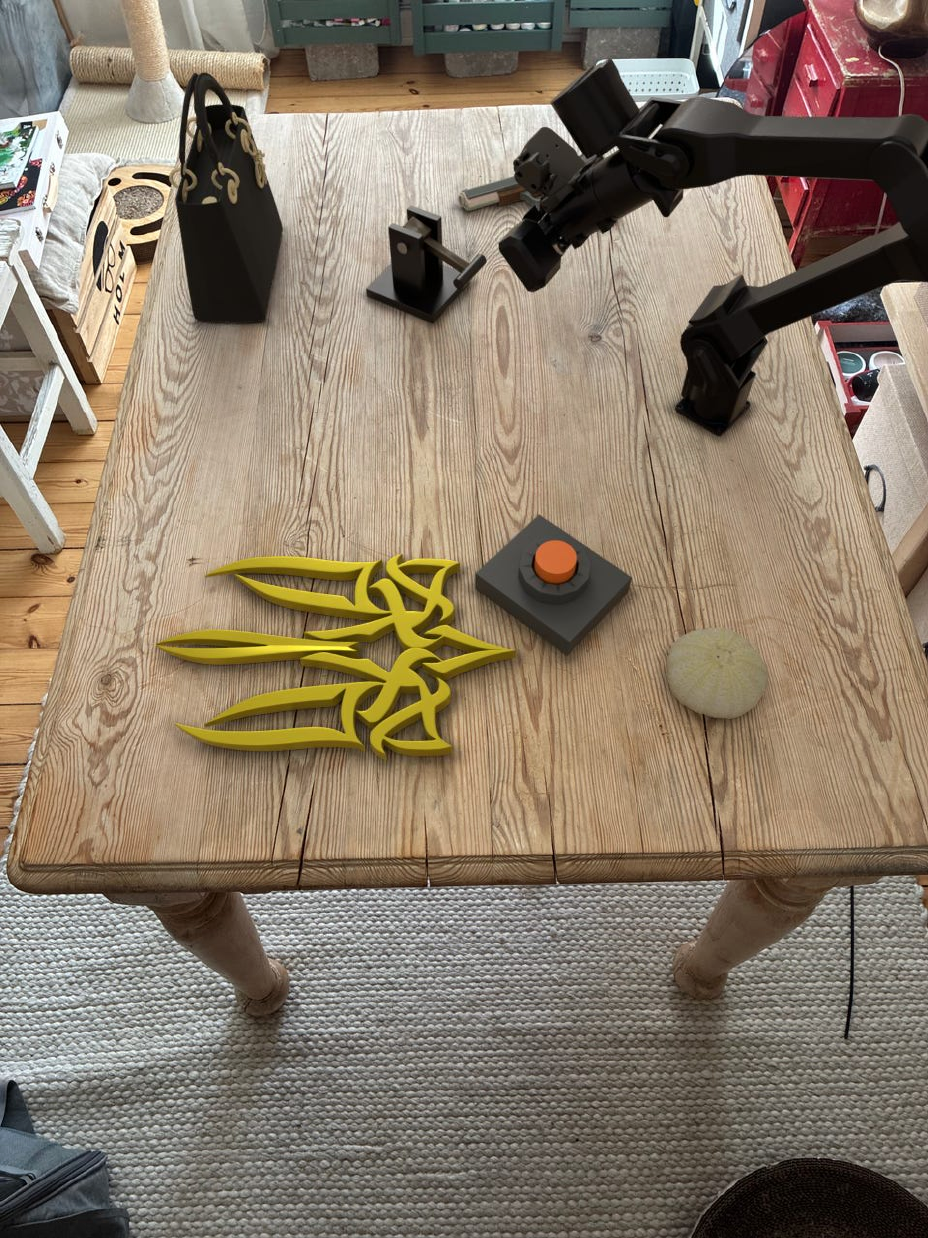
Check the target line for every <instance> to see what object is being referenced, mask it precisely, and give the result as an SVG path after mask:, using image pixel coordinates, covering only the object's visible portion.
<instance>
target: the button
mask: <svg viewBox="0 0 928 1238" xmlns="http://www.w3.org/2000/svg"><path fill="white" fill-rule="evenodd" d="M576 562H577V555H576V552H575V550H574V549H573V548H572V547H571V546H570V545H569V544H567V543H565V542H563V541H558V540H553V541H548V542H545V543H544V544H542V545H541V546H540V547H539V548H538V549H537V551H536V556H535V571H536V573H537V575H538V576H539V577H540V578H541V579H542V580H544V581H546V582H548V583H552V584H560V583H563V582H566V581H568V580H569V579H570V578H571V577H572V576H573V575H574V572H575V568H576Z"/></svg>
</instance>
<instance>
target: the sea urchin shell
mask: <svg viewBox="0 0 928 1238" xmlns="http://www.w3.org/2000/svg"><path fill="white" fill-rule="evenodd" d="M665 665H666V672H667V676H666V678H667V683H668V684H669V687H670V690H671V692H672V694H673V697H674V698H675V699H676V700H677V701H678V702H679V703H680V704H681V705H683V706H685V707H686V708H688V709H690V710H691V711H694V712H695V713H697V714H699V715H705V716H708V717H710V718H711V717H712V718H713V719H715V718H717V719H729V720H731V719H735V718H740V717H742V716H743V715H745V714H746V713H748V712H750V711H751V710H752V709H754V708H755V707H756V705H757V704H758V703H759V701H760V699H761V698H762V696H764V693H765V691H766V686H767V683H768V679H769V673H768V667H767V664H766V662H765V661H764V660H763V658H762V656H761V654H760V652H759V651H758V650H757V649H756V648H755V647H754V646H753V644H752V643H751V642H750V641H748V639H747V638H745V637H743V636H742V635H740V634H739V633H737V632H736V631H735V630H733V629H729V628H727V627H712V626H711V627H710V626H709V627H707V628H702V629H696V630H691V631H689V632H686V633H685V634H683V635H681V636H679V637H677V638H676V640H675V641H674V642H673V643H672V644H671V646H670V649H669V651H668V656H667V659H666V663H665Z"/></svg>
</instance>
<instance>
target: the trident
mask: <svg viewBox="0 0 928 1238" xmlns="http://www.w3.org/2000/svg"><path fill="white" fill-rule="evenodd" d="M383 563H384V562H383V559H378V560H376V561H375V560H374V561H368V562H367V561H365V562H361V561H360V562H358V561H355V562H354V561H337V560H329V559H322V558H316V557H315V558H313V557H306V556H293V555H291V556H290V555H289V556H288V555H276V556H274V555H273V556H258V557H250V558H249V557H248V558H244V559H240V560H237V561H233V562H229V563H228V564H225V565H223V566H220V567H218V568H216V569H214V570H211V571H210V572H208V573H206V574H205V575H204V578H205V579H206V578H211V577H219V576H227V575H233V576H234V578H235V579H236V580H238V582H240V583H241V584H243V585H244V586H246V588H248V589H249V590H250V591H252V592H253V593H254V594H256V595H257V596H259V597H261V598H262V599H264V600H265V601H267V602H269V603H272V604H274V605H277V606H280V607H284V608H287V609H292V610H296V611H300V612H306V613H311V614H317V615H324V616H330V617H336V618H337V617H338V618H345V619H353V620H360V621H367V622H366V623H362V624H358V625H352V626H348V627H341V628H335V629H329V630H314V631H313V630H312V631H303V636H304V638H299V637H288V636H281V635H273V634H267V633H259V632H251V631H243V630H232V629H218V628H217V629H214V628H213V629H200V630H195V631H189V632H185V633H181V634H178V635H174V636H170V637H167V638H166V639H163V640H161V641H159V642H157V643H155V646H156V647H157V648H158V649H159V650H161V651H162V652H164V653H165V654H168V655H171V656H174V657H176V658H178V659H182V660H185V661H189V662H192V663H196V664H203V665H215V666H216V665H218V666H219V665H221V666H222V665H224V666H225V665H227V666H228V665H243V664H259V663H269V662H282V661H294V660H299V662H300V665H301V667H305V668H315V669H322V670H330V671H334V672H339V673H343V674H347V675H351V676H354V677H358V678H361V679H364V680H366V681H357V682H347V683H346V682H345V683H336V684H333V683H332V684H323V685H322V684H321V685H313V686H312V685H311V686H304V687H303V686H302V687H296V688H288V689H281V690H275V691H270V692H265V693H262V694H258V695H257V694H256V695H255V696H251V697H248V698H246V699H244V700H242V701H240V702H238V703H235V704H234V705H232V706H231V707H229V708H227V709H225V710H224V711H222V712H221V713H219V714H218V715H216V716H215V717H213V718H211V719H210V720H208V721H207V722H205V723H204V724H203V726H204V727H205V728H206V729H204V728H199V727H193V726H188V725H185V724H181V723H177V722H174V721H173V722H172V723H173V724H174V726H176V727H177V728H178V729H179V730H180V731H182V732H183V733H185V734H186V735H188V736H190V737H192V738H194V739H195V740H197V741H199V742H202V743H203V744H206V745H210V746H213V747H216V748H222V749H227V750H228V749H229V750H236V751H237V750H238V751H245V752H279V751H280V752H281V751H292V750H303V749H304V750H305V749H318V748H342V749H343V748H344V749H355V750H359V751H362V752H364V753H366V747H365V745H364V744H363V743H362V742H361V741H360V740H359V738H358V735H357V732H356V718H357V719H358V720H359V721H360V722H362V724H364V725H365V726H366V727H367V728H368V729H369V730H371V731H370V734H369V743H370V748H371V750H372V752H373V753H374V754H375V755H376V756H377V757H378V758H380V759H381V760H383V761H385V762H387V761H388V757H387V753H386V752H385V751H384V748H385V747H386V748H388V750H390V751H392V752H394V753H396V754H399V755H401V756H402V755H403V756H408V757H441V756H446V755H449V754H453V746H452V745H451V744H449V743H448V742H446V741H445V740H443V739H442V738H441V737H440V736H439V733H438V730H437V714H438V713H440V711H443V710H444V709H445V708H446V707H447V706H449V705H450V703H451V701H452V690H451V687H450V686H449V685H448V683H447V682H446V681H448V680H450V679H451V678H454V677H457V676H459V675H462V674H464V673H466V672H469V671H472V670H474V669H478V668H479V667H483V666H485V665H488V664H492V663H497V662H500V661H506V660H512V659H515V658H516V655H517V650H515V649H512V648H506V647H503V646H499V645H495V644H492V643H489V642H486V641H484V640H480V639H479V638H476V637H474V636H471V635H469V634H467V633H464V632H462V631H461V630H458V629H456V628H453V627H452V626H450V624H451V623H452V622H453V621H454V620H455V617H456V607H455V604H454V603H453V602H452V600H450V599H449V598H447V597H445V596H444V595H443V594H444V590H445V589H444V587H445V585H446V582H447V580H448V579H449V578H450V577H451V576H453V575H456V574H457V573H460V572H461V562H459V561H455V560H451V559H444V558H415V559H410V560H407V561H405V562H404V556H403V553H400V554H397V555H395V556H392V557H391V558H390V559H388V561H387V562H386V564H385V575H386V578H381V579H379V580H377V582H375V583H373V584H372V582H373V579H374V578H375V576H376V574H377V573H379V572H380V571H381V570H383V569H384V564H383ZM239 574H270V575H286V576H295V577H303V578H309V579H310V578H311V579H319V580H324V581H325V580H326V581H337V582H341V581H342V582H344V581H345V582H346V581H353V580H356V582H355V584H354V585H355V586H354V604H353V603H352V602H351V601H350V600H349V599H348V598H347V597H346V596H344V595H337V594H328V593H327V594H326V593H320V592H314V591H313V592H312V591H306V590H300V589H295V588H288V587H283V586H278V585H273V584H268V583H265V582H262V581H261V582H260V581H257V580H254V579H251V578H248V577H245V576H243V575H239ZM411 574H430V575H434V576H433V578H432V580H431V583H430V586H429V588H426V586H425V587H424V586H423V585H421V584H419V583H418V582H416V581H414V580H413V579H411V578H410V577H408V576H407V575H411ZM371 584H372V585H371ZM401 593H402V594H403V595H405V596H407V597H408V598H410V599H412V600H413V601H415V602H417V603H419V604H421V605H423V606H425V607H424V610H423V611H418V610H417V611H415V610H407V608H406V607H405V604H404V601H403V598H402V595H401ZM369 596H370V597H379V598H381V600H382V601H383V603H384V604H385V606H386V608H387V610H383V609H380V608H379V607H377V606H376V605H375V604H374V603H373V602H372V601H371V600H370V598H369ZM437 614H439V615H440V616H441V618H440V619H439V620H438V626H436V627H434V628H432V629H430V630H428V631H425V632H424V633H423V637H422V636H420V635H418V634H419V633H421V632H422V631H423V630H424V629H426V628H427V627H428V626H429V625H430V624H431V623H432V621H433V619H435V616H437ZM392 632H395V635H396V639H397V641H398V644H399V645H400V648H401V649H402V650H403V652H401V653H400V654H399V656H398V657H397V658H396V659H395V662H394V663H393V665H392V667H391V669H390V671H389V672H388V671H387V670H385V669H383V668H382V667H381V666H379V665H377V664H376V663H375V662H374V661H372V660H371V659H369V658H360V655H359V651H360V650H361V647H360V646H361V645H360V643H369V644H372V643H375V642H376V641H378V640H379V639H381V638H383V637H384V636H386V635H388V634H391V633H392ZM174 645H176V646H177V645H197V646H198V645H199V646H200V645H202V646H214V647H213V648H208V647H207V648H205V647H204V648H197V647H196V648H195V647H172V646H174ZM444 645H445V646H449V647H451V648H454V649H457V650H459V651H462V652H465V653H466V654H461V655H458V656H455V657H452V658H448V659H445V660H442V659H441V658H439V657H438V656H437V655H435V654H434V653H433V652H435V651H437V650H438V649H439V648H441V647H443V646H444ZM215 646H216V647H215ZM217 646H218V647H217ZM420 667H421V670H422V672H424V673H426V674H427V675H429V676H431V677H432V678H435V685H436V686H437V691H436V692H435V693H433V694H432V693H431V691H430V689H429V687H428V685H427V683H426V681H425V680H424V679H423V678H422V677H421V676H420V675H419V674H418V673H417V672H415V671H416V670H418V669H419V668H420ZM375 694H378V695H377V697H376V699H375V700H374V702H373V703H372V704H371V706H369V708H368V709H365V710H361V711H360V710H359V708H360V706H361V705H362V703H364V702H365V701H366V700H367V699H369V698H370V697H372V696H374V695H375ZM402 694H407V695H408V694H409V695H411V694H419V698H420V700H419V701H416V702H415V703H413V704H411V705H408V706H407V707H404V708H402V709H400V710H399V711H396V712H395V713H393V711H394V710H395V708H396V705H397V703H398V701H399V699H400V697H401V695H402ZM341 701H342V702H341ZM340 702H341V707H340V708H341V709H340V720H341V725H342V728H343V732H342V731H339V730H337V729H334V728H329V727H322V726H307V727H306V726H305V727H293V728H281V729H271V730H270V729H269V730H255V731H254V730H253V731H252V730H251V731H249V730H248V731H244V730H243V731H241V730H240V731H237V730H236V731H235V730H233V731H230V730H216V729H215V730H214V729H207V728H210V727H213V726H217V725H220V724H223V723H227V722H231V721H234V720H238V719H243V718H247V717H253V716H259V715H267V714H272V713H281V712H287V711H296V710H304V709H305V710H307V709H317V708H318V709H319V708H332V707H335V706H336V705H338V704H339V703H340ZM392 713H393V714H392ZM420 720H421V721H422V725H423V730H424V733H425V736H426V738H427V740H398V739H393V738H392V737H394V735H396V734H397V733H399V732H401V731H402V730H403V729H405V728H407V727H409V726H410V725H413V724H415V723H416V722H418V721H420Z"/></svg>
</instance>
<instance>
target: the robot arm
mask: <svg viewBox="0 0 928 1238" xmlns="http://www.w3.org/2000/svg"><path fill="white" fill-rule="evenodd" d="M549 104H550V106H551V107H552V109H553V110H554V112H555V113H556V115H557V117H558V118H559V120H560V121H561V123H562V125H563V126H564V128H565V129H566V131H567V132H568V134H569V135H570V137H571V138H572V140H573V141H574V143H575V145H576V146H577V148H578V150H579V151H580V153H581V154H579V155H578V152H577V151H576V150H575V148H574V147H573V146H572V145H570V144H569V143H568V142H567V141H566V140H565V139H564V138H563V137H561V136H560V135H559V134H558V133H557V132H556V131H554V130H553V129H552V128H550V127H547V126H542V127H540V128H539V129H538V130H537V131H536V132H535V133H534V134H533V135H532V136H531V137H530V138H529V139H528V140H527V142H525V144H524V146H523V148H522V150H521V151H520V154H519V155H518V156H517V157H516V158H515V159H514V160H513V161H512V165H513V166H512V167H513V172H514V173H513V176H514V178H515V181H516V182H517V183H518V184H520V185H521V186H522V187H523V188H524V189H525V190H527V191H528V192H529V193H530V194H536V193H537V192H539V193H541V194H542V195H540V198H539V199H540V207H536V206H535V204H534V205H531V207H530V208H529V209H528V210H527V211H526V212H525V214H523V216H522V218H521V221H519V222H518V223H517V224H516V225H514V226H513V227H511V229H510V230H509V231H508V232H507V233H506V234H505V235H504V236H503V237H502V238H501V239H500V241H499V242H498V243H497V244H498V252H499V253H500V255H501V256H502V258H503V259H504V260H505V262H506V263H507V264H508V266H509V267H510V269H511V270H512V271H513V273H514V274H515V276H516V277H517V278H518V280H519V281H520V282H521V284H522V285H523V287H524V288H525V290H526V291H527V292H529V293H532V294H533V293H535V292H538V291H539V290H542V289H543V288H545V287H546V286H547V285H548V284H549V283H550V281H551V280H552V279H553V278H554V277H555V275H556V274H557V273H558V272H559V271H560V270H561V265H562V257H563V256H564V255H565V254H566V252H567V251H568V249H570V247H571V246H572V248H573V249H574V250H577V249H579V248H581V247H582V246H583V245H584V243H585V242H586V241H587V240H588V239H589V238H590V237H591V236H592V235H594V234H596V233H597V232H599V231H600V233H601V234H602V235H604V234H606V233H608V232H610V231H611V229H612V228H613V227H614V226H615V225H616V224H617V222H618V221H619V220H621V219H623V218H624V217H625V216H627V215H630V214H632V213H633V212H635V211H636V210H638V209H640V208H642V207H644V206H646V205H647V204H648V203H650V202H653V203H654V204H655V206H656V208H657V209H658V211H659V212H660V215H662V217H663V218H669V217H670V216H671V214H672V213H673V212H674V211H675V210H676V208H677V207H678V206H679V204H680V203H681V202H682V200H683V199H684V191H685V190H691V189H698V188H706V187H712V186H714V185H718V184H720V183H723V182H726V181H729V180H732V179H734V178H739V177H744V176H745V177H747V176H757V177H758V176H760V177H761V176H762V177H778V178H779V177H782V178H804V179H805V178H806V179H828V180H831V179H832V180H846V181H847V180H848V181H849V180H851V181H871V182H872V181H873V182H874V183H875V184H876V185H877V186H878V187H879V188H880V189H881V190H882V191H883V193H885V195H886V197H887V199H888V201H889V203H890V205H891V207H892V209H893V212H894V213H895V215H896V218H897V220H898V222H896V224H894V225H893V226H891V227H890V228H887V229H885V230H883V231H881V232H879V233H877V234H875V235H872V236H870V237H867V238H866V239H864V240H863V239H862V240H861V241H859V242H857V243H855V244H852V245H850V246H848V247H846V248H844V249H841V250H840V251H839V250H838V251H837V252H836V253H832V254H830V255H829V256H826V257H824V258H821V259H820V260H818V261H815V262H813V263H811V264H809V265H806V266H804V267H802V268H800V269H797V270H796V271H793V272H791V273H788V274H787V275H784V276H783V277H780V278H778V279H775V280H773V281H772V282H769V283H767V284H765V285H761V286H756V285H748V284H747V281H746V279H745V277H744V274H739V275H737V276H736V277H734V278H733V279H732V280H730V281H728V282H726V283H724V284H720V285H719V284H718V285H712V288H711V289H710V290H709V292H708V293H707V295H706V296H705V297H704V298H703V300H702V302H701V303H700V305H699V306H698V308H697V309H696V310H695V312H694V313H693V314H692V315H691V317H690V318H689V320H688V325H687V326H686V327H685V329H684V330H683V332H682V333H681V335H680V341H679V344H680V350H681V353H682V354H683V356H684V357H685V360H686V367H687V370H686V373H685V377H684V381H683V384H682V388H681V392H680V396H681V397H682V399H681V400H679V401H678V402H677V403H676V404H675V406H674V411H675V412H676V413H678V414H680V415H681V416H683V417H685V418H687V419H688V420H690V421H692V422H693V423H695V424H696V425H698V426H701V428H703V429H705V430H707V431H709V432H710V433H712V434H714V435H716V436H718V437H721V436H724V434H726V432H728V431H729V429H730V428H732V426H733V425H735V423H736V422H738V421H739V420H740V419H741V418H742V416H744V415H745V414H746V412H747V411H748V410H749V409H751V406H752V403H751V402H750V401H749V400H748V398H749V396H750V392H751V390H752V387H753V384H754V381H755V378H756V375H757V373H756V372H755V371H754V370H752V369H753V367H754V365H755V364H756V363H757V361H758V359H759V358H760V356H761V354H762V353H763V352H764V349H765V348H766V346H767V345H768V343H769V340H768V339H767V337H766V336H768V335H769V334H771V333H774V332H775V331H778V330H781V329H784V328H786V327H788V326H790V325H793V324H796V323H798V322H801V321H803V320H805V319H807V318H810V317H813V316H815V315H818V314H821V313H823V312H826V311H827V310H828V311H829V310H830V309H832V308H835V307H837V306H840V305H843V304H845V303H848V302H850V301H853V300H854V299H857V298H860V297H863V296H864V295H865V296H866V295H867V294H870V293H872V292H875V291H877V290H880V289H881V288H884V287H886V286H889V285H892V284H894V283H897V282H901V281H907V282H916V283H917V282H918V283H925V284H926V283H927V284H928V121H927V120H926V119H925V118H923V117H922V116H921V115H918V114H914V113H907V114H901V115H898V116H893V117H878V116H877V117H870V116H869V117H868V116H867V117H866V116H864V117H863V116H862V117H861V116H796V115H795V116H791V115H790V116H789V115H787V116H786V115H785V116H783V115H760V114H755V113H751V112H749V111H747V110H746V109H744V108H742V107H740V106H739V105H738V104H736V103H734V102H731V101H725V100H719V99H716V98H715V99H714V98H709V97H704V96H696V97H690V98H688V99H686V100H684V101H682V100H675V99H669V98H662V97H656V96H650V98H649V99H648V100H647V101H646V102H645V103H644V104H643V105H641V106H640V107H639V106H638V104H637V103H636V101H635V99H634V98H633V95H632V94H631V93H630V91H629V89H628V87H627V86H626V84H625V82H624V81H623V78H622V76H621V74H620V71H619V68H618V67H617V65H616V64H615V62H614V60H613V59H612V58H611V57H609V58H607V59H606V60H604V61H603V62H599V63H598V64H596V65H595V66H594V65H593V64H592V65H591V66H589V67H588V68H587V69H586V70H584V71H583V72H582V73H580V74H579V75H578V76H577V77H576V78H575V79H573V80H572V81H571V82H570V83H569V84H568V85H567V86H565V87H564V88H563V89H562V90H561V91H559V93H557V94H556V95H555V96H554V98H552V99H551V101H550V102H549ZM659 127H660V128H659ZM658 128H659V129H658ZM657 129H658V130H657ZM656 130H657V131H656ZM655 131H656V132H655ZM653 133H655V134H654V135H653ZM651 136H652V137H651ZM650 137H651V138H650ZM614 148H617V150H616V151H614V152H613V153H611V154H609V155H608V156H607V157H604V155H606V154H607V153H609V152H610V151H612V150H613V149H614Z"/></svg>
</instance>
